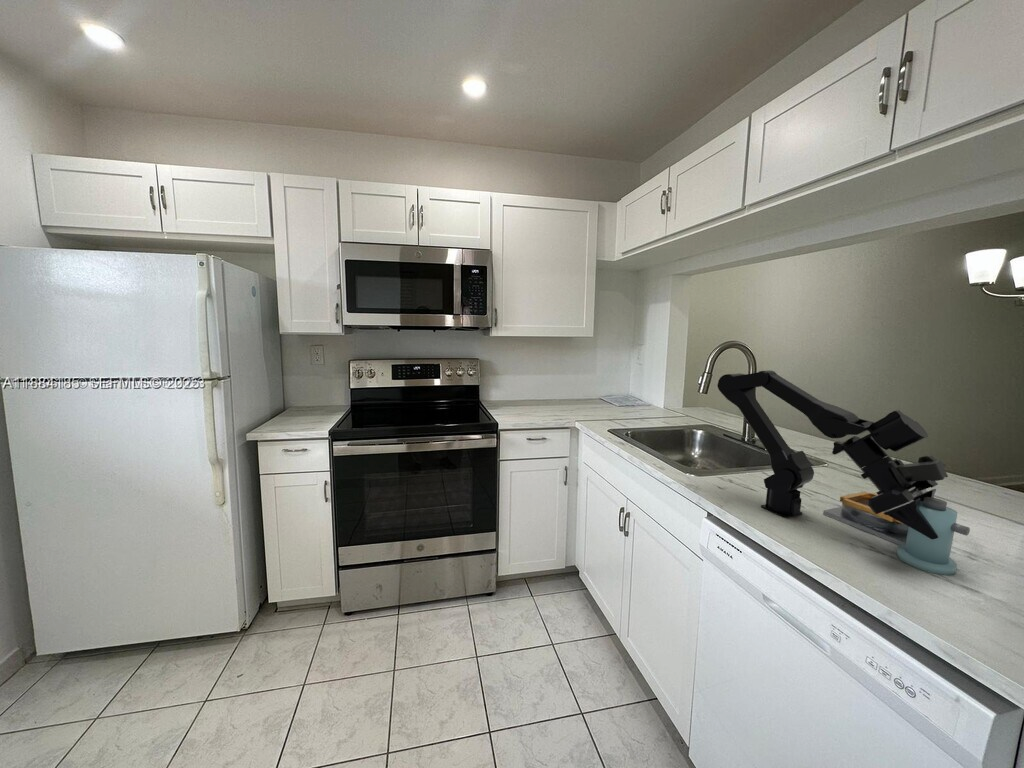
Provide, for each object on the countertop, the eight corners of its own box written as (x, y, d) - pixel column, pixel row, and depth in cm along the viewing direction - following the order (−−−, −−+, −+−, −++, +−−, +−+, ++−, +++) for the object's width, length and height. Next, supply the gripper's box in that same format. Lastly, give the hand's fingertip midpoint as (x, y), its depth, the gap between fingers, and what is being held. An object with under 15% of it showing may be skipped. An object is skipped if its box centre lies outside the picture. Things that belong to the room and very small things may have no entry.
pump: (887, 555, 80) (897, 494, 78) (910, 548, 83) (919, 489, 81) (947, 581, 72) (959, 514, 70) (970, 572, 75) (982, 507, 73)
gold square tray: (823, 514, 98) (825, 494, 97) (857, 506, 103) (860, 487, 102) (905, 547, 83) (909, 524, 82) (941, 536, 88) (945, 514, 87)
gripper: (899, 449, 73) (978, 531, 65) (930, 437, 83) (1003, 507, 75) (841, 476, 81) (906, 552, 73) (876, 462, 90) (937, 528, 82)
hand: (940, 534), depth 76 cm, fingers closed on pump, 6 cm apart
